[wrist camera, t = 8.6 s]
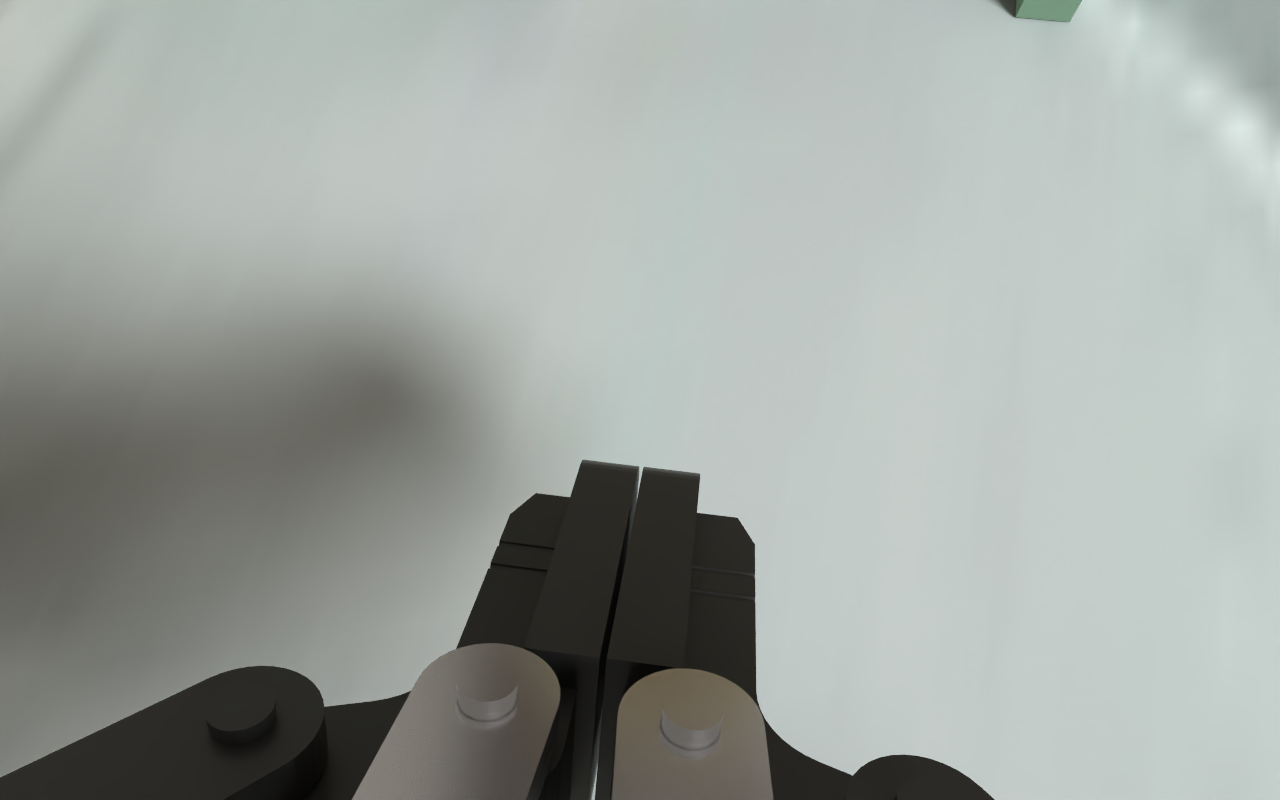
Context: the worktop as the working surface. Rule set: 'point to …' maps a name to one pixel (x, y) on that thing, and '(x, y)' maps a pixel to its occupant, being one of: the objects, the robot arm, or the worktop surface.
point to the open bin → (1047, 9)
